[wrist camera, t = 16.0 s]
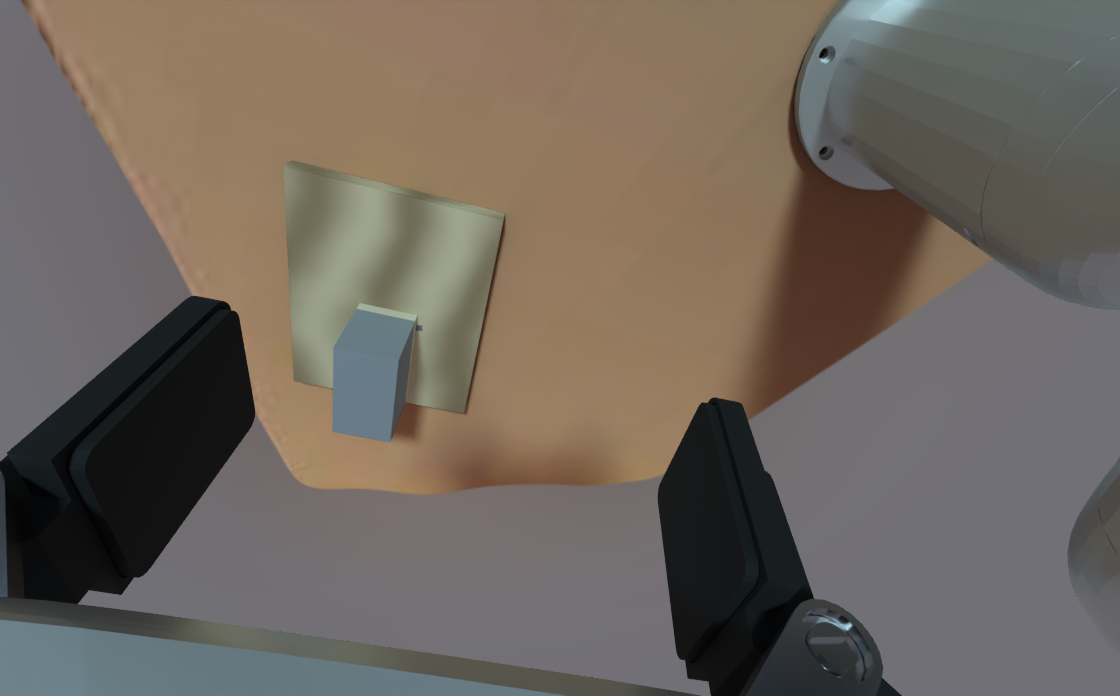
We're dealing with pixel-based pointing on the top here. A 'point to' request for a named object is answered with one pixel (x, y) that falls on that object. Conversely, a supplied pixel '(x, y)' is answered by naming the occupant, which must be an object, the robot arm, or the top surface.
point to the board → (388, 274)
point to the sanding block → (372, 372)
